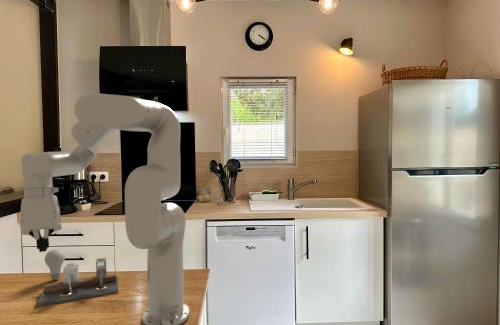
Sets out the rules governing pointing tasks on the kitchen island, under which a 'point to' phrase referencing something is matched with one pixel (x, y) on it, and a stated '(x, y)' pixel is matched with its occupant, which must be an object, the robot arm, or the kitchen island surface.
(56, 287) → the frame
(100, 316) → the kitchen island surface
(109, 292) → the bolt plate
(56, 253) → the lightbulb
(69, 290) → the sliding leg
